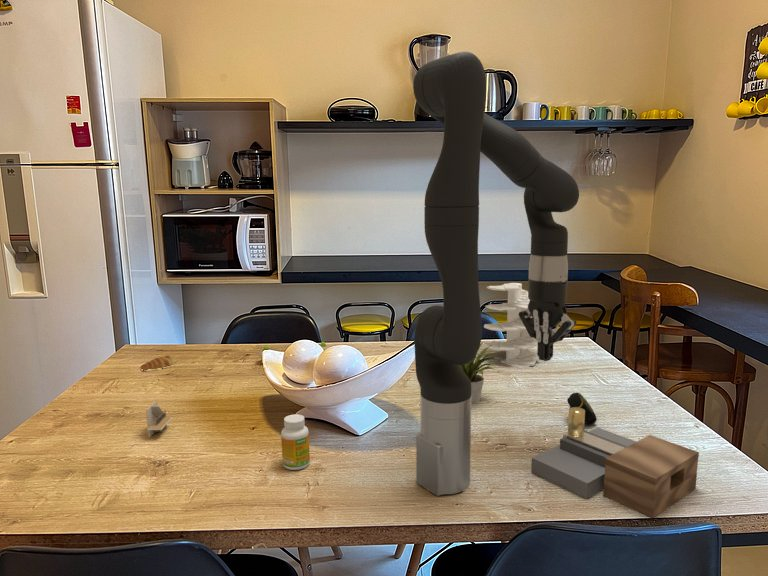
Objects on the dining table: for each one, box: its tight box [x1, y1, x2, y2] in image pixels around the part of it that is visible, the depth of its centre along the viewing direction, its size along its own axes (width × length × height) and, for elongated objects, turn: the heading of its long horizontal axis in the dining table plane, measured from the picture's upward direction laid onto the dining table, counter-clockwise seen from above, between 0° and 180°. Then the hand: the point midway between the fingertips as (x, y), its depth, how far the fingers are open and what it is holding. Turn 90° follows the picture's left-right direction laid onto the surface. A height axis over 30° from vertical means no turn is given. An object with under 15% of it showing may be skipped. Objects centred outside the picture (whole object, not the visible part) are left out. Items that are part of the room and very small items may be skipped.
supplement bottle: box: [280, 413, 311, 471], centre depth 111 cm, size 5×5×10 cm
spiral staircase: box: [481, 282, 540, 370], centre depth 172 cm, size 18×18×25 cm
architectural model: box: [146, 400, 173, 439], centre depth 125 cm, size 3×7×7 cm, turn 1°
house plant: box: [459, 340, 498, 405], centre depth 141 cm, size 14×14×16 cm
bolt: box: [562, 407, 624, 456], centre depth 108 cm, size 4×11×7 cm, turn 37°
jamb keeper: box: [602, 434, 700, 519], centre depth 99 cm, size 15×9×7 cm, turn 127°
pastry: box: [140, 354, 175, 370], centre depth 169 cm, size 9×7×4 cm
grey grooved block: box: [530, 427, 637, 500], centre depth 109 cm, size 22×12×5 cm, turn 127°
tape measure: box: [567, 392, 598, 425], centre depth 129 cm, size 7×7×4 cm
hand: (545, 359), depth 115 cm, fingers closed
